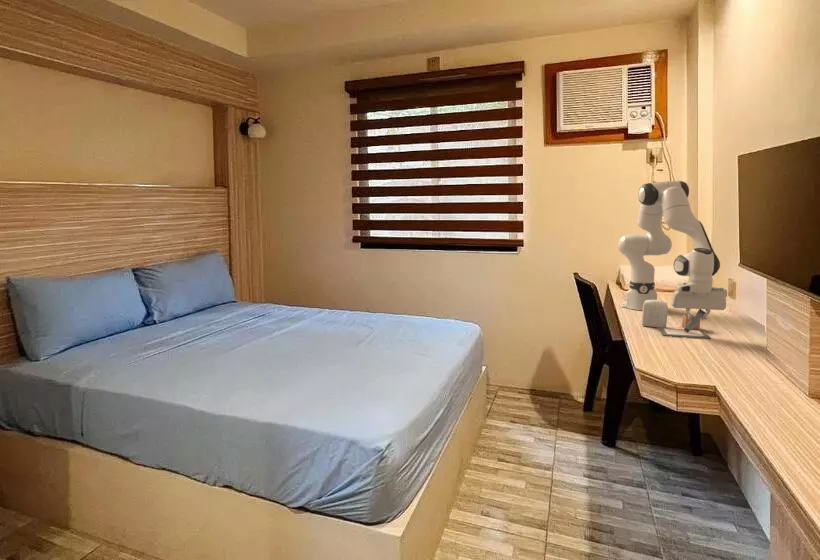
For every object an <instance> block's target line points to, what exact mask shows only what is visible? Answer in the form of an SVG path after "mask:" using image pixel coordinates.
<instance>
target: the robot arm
mask: <svg viewBox="0 0 820 560" xmlns="http://www.w3.org/2000/svg"><path fill="white" fill-rule="evenodd" d="M637 193H638V195H637V197H638V201H639V202H640V205H639V209H638V214H637V219H636V221H637V226H638V227H639V228H641V229H642V230H643V231H646V233H641V234H640V233H638V234H637V233H636V234H635V233H634V234H633V233H632V234H626V235H622V236H621V237H620V239H619V241H618V242H617V243H618V244H617V246H618V251H619V252H620V253H621V254H622V255H623V256H624V257H626V259H627V260H628V262H629V264H630V281H629V289H628V290H627V291H626V292H625V293H624V296H623V298H624V300H623V301H622V304H621V308H626V309H630V310H636V311H643V304H644V302H645V301H646V300H658V292H657V291H656V290H655V286H656V284H655V270H656V269H655V267H654V265H653V264H651V263H650V262H648V261H645V258H644V256H663V255H667V254H669V252H670V251H671V250H672V248H673V247H672V246H673V242H672V239H671V238H670V236H669V235H667V234H666V233H665V232H664V231H663V227H662V222H663V220H664V222H665V224H666V226H667V227H669V229H672V230H674V231H676V232H679V233H682V234H685V235H687V236H689V237H690V238H691V239H692V240H693V242H694V245H695V247H696V248H693V249H692V250H691V251H689V252H687V253H684V254H679V255H678V256H676V258H675V259H674V262H673V270H674V272H675V273H676V274H677V275H678V276H683V277H688V279H687V281H685V282H682V283H676V285H675V291H673V294H672V298H671V303H670V304H671V306H672V307H673V308H675V309H685V311H686V313H687V315H688V319H693V316H694V314H692V313H690V312H691V309H692V310H694V309H695V310H699V309H701V310H705V311H704V312H706V313H705V314H704V315H703V316H702V318H701V319H702V320H705V321H706V320H707V319H708V315H709V314H710V313H711V311H713V310H715V311H716V310H717V311H725V310H726V308H727V297H728V290H727V289H725V288H724V287H713V282H714V281H713V280H714V279H713V277H714V276H715V275H716V274H717V273H718V272H719V269H720V268H721V262H720V259H719V258H718V256H717V254H716V253H715V251H714V248H713V246H712V243H711V242H710V239H709V236H708V234H707V232H706V230H705V227H704V225H703V223H702V222H701V221H700V220H699V219H697V218H696V216H695V215H694V214H693V212H692V209H691V205H690V202H689V199H688V198H689V195H690V188H689V185H688V183H687V182H686V181H682V180H676V181H675V180H663V181H659V182H658V181H656V182H647V183H644V184H642V185H641V186H640V187H639V189H638V192H637Z"/></svg>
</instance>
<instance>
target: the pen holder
mask: <svg viewBox="0 0 820 560" xmlns="http://www.w3.org/2000/svg"><path fill="white" fill-rule="evenodd" d="M693 317H694V315H693ZM701 319H702V318H701ZM701 319H700V320H699V321H698V322H697V324H696V325H695V326H694V327H693V328H692V330H701ZM690 320H691V319H688V314H683V315H682V322H681V327H682V329H683V328H684V329H685V326H686V325H687V324H688V323H689V321H690Z"/></svg>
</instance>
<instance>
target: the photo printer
mask: <svg viewBox="0 0 820 560" xmlns="http://www.w3.org/2000/svg"><path fill="white" fill-rule="evenodd" d="M668 310H669V307H668V303H667V302H666V301H663V300H659V299H657V300H646V301H645V302H644V304H643V310H642V315H641V317H642V318H641V326H642V325H643V326H644V327H650V326H651V328H652V327H653V328H667V325H668V324H667V323H668Z"/></svg>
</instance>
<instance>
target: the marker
mask: <svg viewBox="0 0 820 560" xmlns="http://www.w3.org/2000/svg"><path fill="white" fill-rule="evenodd" d="M697 310H698V311H696V313H695V314H693V316H694V317H693V319H691V320H690V321H689V323H688V324H687V325H686V326H685V329H684V330H685V331H686V332H689V331H691V330H692V328H693V327H694V326H695V325H696V324H697V322H698V321H699V320H700V319H702V316H703V315H704V314H705V313H706V311H704V309H697ZM700 321H701V320H700Z"/></svg>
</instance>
